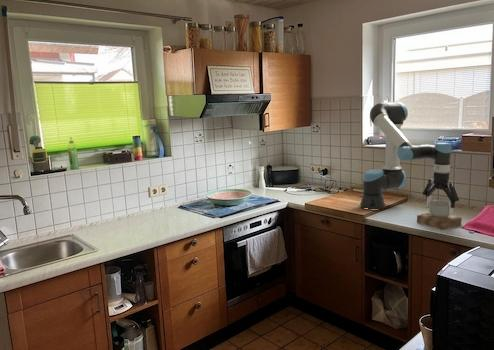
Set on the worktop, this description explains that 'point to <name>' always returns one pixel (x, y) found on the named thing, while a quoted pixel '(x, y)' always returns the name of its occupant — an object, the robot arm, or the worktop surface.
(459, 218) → the block
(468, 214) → the worktop surface
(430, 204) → the teacup
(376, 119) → the robot arm
